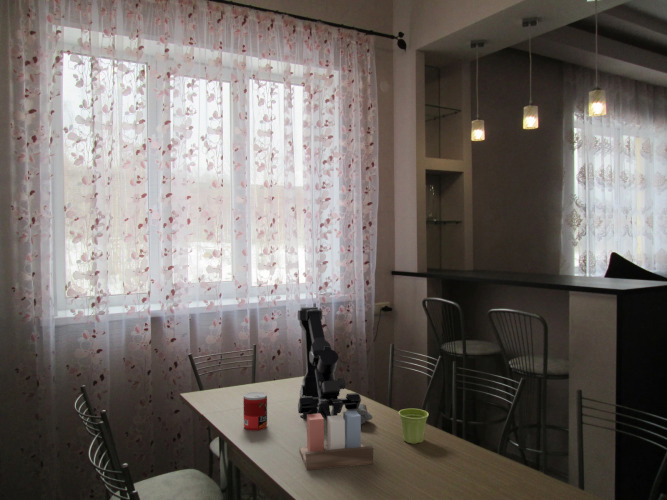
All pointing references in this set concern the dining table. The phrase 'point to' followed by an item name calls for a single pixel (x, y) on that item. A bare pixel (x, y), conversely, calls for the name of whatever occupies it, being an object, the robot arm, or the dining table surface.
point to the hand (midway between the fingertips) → (333, 429)
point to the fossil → (363, 413)
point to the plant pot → (413, 424)
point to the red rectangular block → (315, 432)
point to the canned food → (255, 411)
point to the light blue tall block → (352, 429)
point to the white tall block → (335, 432)
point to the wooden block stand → (336, 457)
